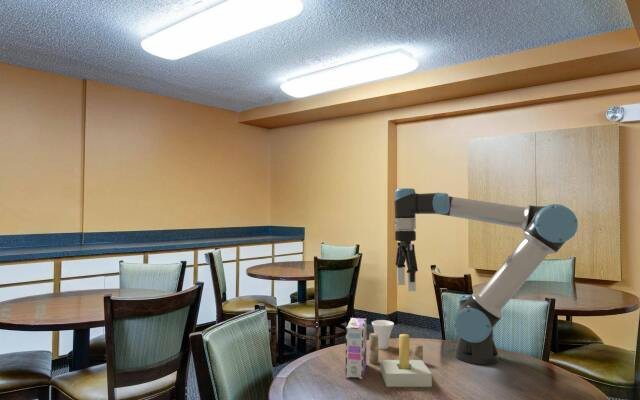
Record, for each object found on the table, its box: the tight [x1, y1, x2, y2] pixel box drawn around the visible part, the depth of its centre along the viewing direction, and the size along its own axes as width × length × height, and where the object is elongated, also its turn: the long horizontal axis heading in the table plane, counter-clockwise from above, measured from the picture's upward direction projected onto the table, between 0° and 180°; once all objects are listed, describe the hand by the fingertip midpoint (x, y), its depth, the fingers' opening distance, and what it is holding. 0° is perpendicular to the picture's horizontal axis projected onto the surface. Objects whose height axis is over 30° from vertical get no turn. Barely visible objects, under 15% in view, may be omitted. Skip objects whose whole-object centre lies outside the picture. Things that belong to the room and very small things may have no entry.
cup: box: [371, 319, 395, 350], centre depth 166 cm, size 9×9×10 cm
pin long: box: [398, 333, 410, 369], centre depth 135 cm, size 3×3×14 cm
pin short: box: [413, 343, 424, 362], centre depth 150 cm, size 3×3×6 cm
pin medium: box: [368, 332, 379, 365], centre depth 149 cm, size 3×3×10 cm
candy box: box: [345, 317, 367, 380], centre depth 141 cm, size 14×6×16 cm, turn 168°
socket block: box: [380, 359, 433, 388], centre depth 134 cm, size 14×12×4 cm
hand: (406, 287), depth 153 cm, fingers open, 13 cm apart
